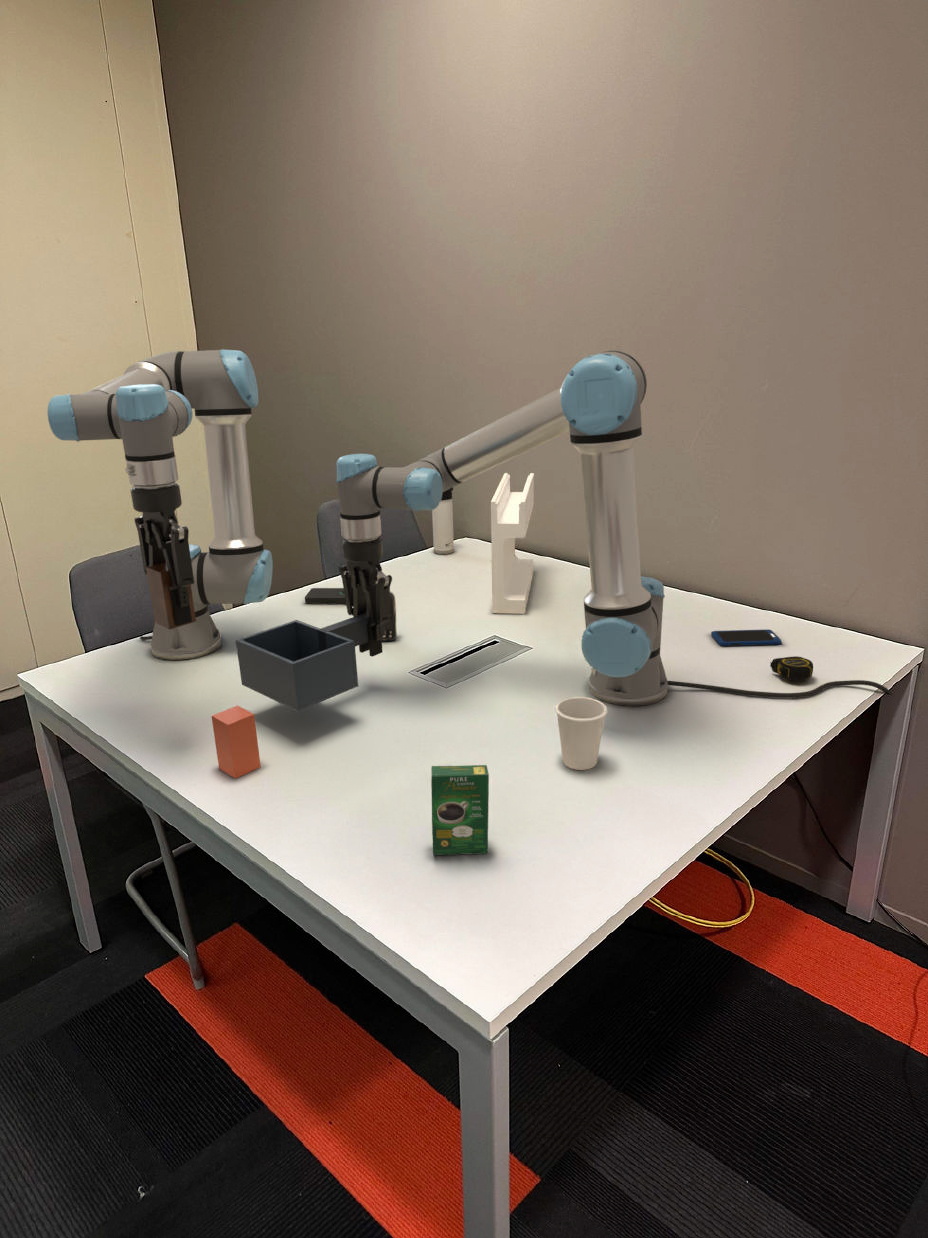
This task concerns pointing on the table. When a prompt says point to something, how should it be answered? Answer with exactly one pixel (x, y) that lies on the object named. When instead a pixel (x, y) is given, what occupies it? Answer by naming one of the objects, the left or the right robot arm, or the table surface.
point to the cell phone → (746, 637)
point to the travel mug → (443, 524)
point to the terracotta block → (236, 741)
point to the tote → (303, 660)
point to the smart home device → (326, 596)
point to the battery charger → (390, 620)
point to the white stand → (510, 546)
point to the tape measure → (793, 668)
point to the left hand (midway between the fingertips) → (175, 619)
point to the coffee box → (460, 809)
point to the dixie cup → (580, 731)
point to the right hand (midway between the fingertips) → (370, 651)
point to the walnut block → (164, 596)
